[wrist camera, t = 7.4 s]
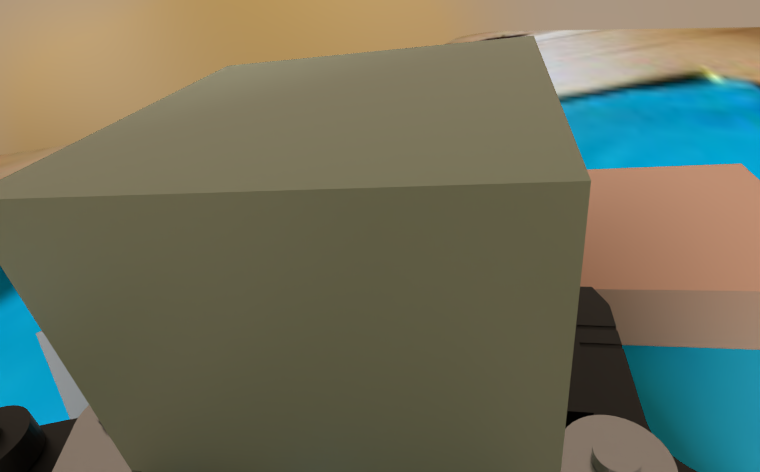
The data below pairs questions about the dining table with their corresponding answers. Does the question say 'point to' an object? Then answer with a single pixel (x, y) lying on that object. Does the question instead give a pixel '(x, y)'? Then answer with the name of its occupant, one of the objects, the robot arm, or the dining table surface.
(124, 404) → the sage tower brick
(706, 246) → the terracotta base brick
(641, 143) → the dining table surface
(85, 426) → the robot arm
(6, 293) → the dining table surface
